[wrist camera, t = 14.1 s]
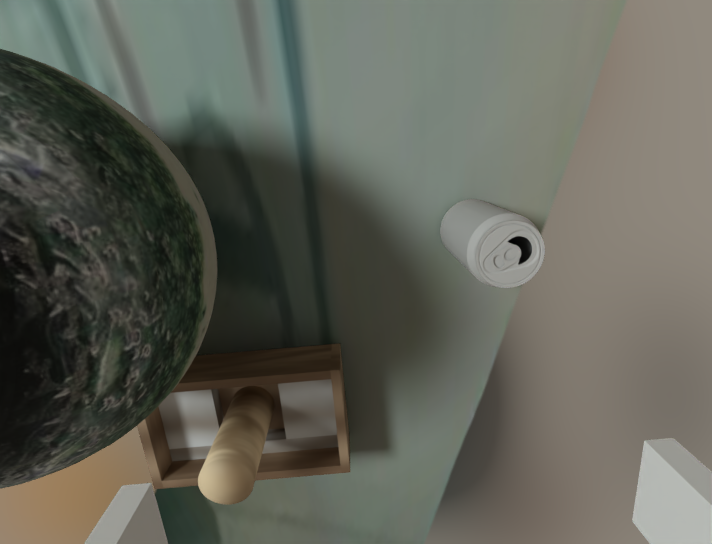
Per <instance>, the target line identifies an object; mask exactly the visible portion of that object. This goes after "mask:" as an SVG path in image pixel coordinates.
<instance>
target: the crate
mask: <svg viewBox="0 0 712 544" xmlns="http://www.w3.org/2000/svg"><path fill="white" fill-rule="evenodd" d="M247 386H258V387H261V388H263V389H265V390H267V391H268V392H269V393H270V394H271V395H272V397H273V399H274V411H273V414H272V418H271V422H270V426H269V429H268V433H267V437H266V441H265V444H264V448H263V452H262V456H261V459H260V463H259V467H258V471H257V474H256V478H255V480H266V479H277V478H289V477H300V476H312V475H324V474H335V473H347V472H350V437H349V426H348V416H347V406H346V396H345V386H344V375H343V365H342V355H341V345H340V343H339V344H327V345H315V346H304V347H292V348H280V349H268V350H256V351H244V352H233V353H221V354H209V355H197V356H195V358H194V360H193V361H192V363H191V365H190V367H189V368H188V370H187V371H186V373H185V375H184V376H183V377H182V379H181V380H180V382H179V383H178V384H177V386H176V387H175V388H174V390H173V391H172V392H171V393H170V394H169V395H168V396H167V397H166V398H165V399H164V401H163V402H162V403H161V404H160V405H159V406H158V407H157V408H156V409H155V410H154V411H153V412H152V413H151V414H150V415H149V416H148V417H146V418H145V419H144V420H143V421H142V422H141V423H139V424H138V425H137V427H138V431H139V434H140V438H141V442H142V445H143V449H144V452H145V456H146V460H147V463H148V467H149V471H150V474H151V478H152V481H153V485H154V488H155V489H162V488H173V487H185V486H196V485H198V476H199V474H200V471H201V469H202V467H203V465H204V462H205V460H206V458H207V455H208V453H209V451H210V449H211V446H212V444H213V442H214V440H215V437H216V435H217V433H218V431H219V428H220V426H221V424H222V422H223V419H224V417H225V415H226V413H227V410H228V408H229V406H230V404H231V401H232V399H233V397H234V395H235V394H236V392H237V391H238V390H240V389H241V388H244V387H247Z"/></svg>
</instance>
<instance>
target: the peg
mask: <svg viewBox="0 0 712 544" xmlns="http://www.w3.org/2000/svg"><path fill="white" fill-rule="evenodd" d="M273 411H274V399H273V397H272V395H271V394H270V393H269V392H268V391H267V390H265V389H263V388H261V387H258V386H247V387H244V388H241V389H240V390H238V391H237V392H236V394H235V395H234V397H233V399H232V401H231V404H230V406H229V408H228V410H227V413H226V415H225V417H224V419H223V422H222V424H221V426H220V428H219V431H218V433H217V435H216V437H215V440H214V442H213V444H212V446H211V449H210V451H209V453H208V455H207V458H206V460H205V462H204V465H203V467H202V469H201V471H200V474H199V476H198V485H199V488H200V490H201V492H202V493H203V494H204V496H206V497H207V498H208V499H210V500H211V501H213V502H216V503H219V504H235V503H239V502H241V501H243V500H244V499H246V498H247V497H248V496H249V495H250V493H251V492H252V489H253V486H254V482H255V478H256V474H257V471H258V467H259V463H260V459H261V456H262V452H263V448H264V444H265V441H266V437H267V433H268V429H269V426H270V422H271V418H272V414H273Z"/></svg>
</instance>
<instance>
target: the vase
mask: <svg viewBox="0 0 712 544" xmlns="http://www.w3.org/2000/svg"><path fill="white" fill-rule="evenodd" d="M216 285H217V253H216V246H215V239H214V234H213V230H212V226H211V221H210V219H209V216H208V213H207V210H206V207H205V205H204V202H203V200H202V198H201V196H200V194H199V191H198V190H197V188H196V186H195V184H194V183H193V181H192V179H191V177H190V176H189V174H188V173H187V171H186V170H185V169H184V167H183V166H182V164H181V163H180V161H179V160H178V159H177V158H176V157H175V155H174V154H173V153H172V152H171V151H170V149H169V148H168V147H167V146H166V145H165V144H164V143H163V142H162V141H161V140H160V139H159V138H158V137H157V136H156V135H155V134H154V132H152V131H151V130H150V129H149V128H148V127H147V126H146V125H145V124H143V123H142V122H141V121H140V120H139V119H138V118H136V117H135V116H134V115H133V114H132V113H130V112H129V111H127V110H126V109H125V108H123V107H122V106H120V105H119V104H118V103H116V102H115V101H114V100H112V99H111V98H109V97H108V96H106V95H105V94H103V93H101V92H100V91H98V90H96V89H95V88H93V87H91V86H90V85H88V84H86V83H84V82H82V81H80V80H78V79H77V78H75V77H73V76H70V75H68V74H66V73H64V72H62V71H60V70H58V69H56V68H54V67H52V66H49V65H46V64H44V63H41V62H38V61H36V60H33V59H30V58H28V57H25V56H22V55H19V54H16V53H13V52H10V51H6V50H2V49H0V488H5V487H10V486H14V485H18V484H22V483H25V482H28V481H32V480H35V479H38V478H40V477H43V476H46V475H48V474H51V473H54V472H56V471H59V470H62V469H64V468H66V467H69V466H71V465H73V464H76V463H78V462H80V461H81V460H83V459H85V458H87V457H88V456H91V455H92V454H94V453H96V452H98V451H99V450H101V449H103V448H105V447H107V446H109V445H110V444H112V443H114V442H115V441H116V440H118V439H119V438H121V437H122V436H124V435H125V434H126V433H128V432H129V431H130V430H132V429H133V428H134V427H135V426H137V425H138V424H139V423H141V422H142V421H143V420H144V419H145V418H146V417H148V416H149V415H150V414H151V413H152V412H153V411H154V410H155V409H156V408H157V407H158V406H159V405H160V404H161V403H162V402H163V401H164V399H165V398H166V397H167V396H168V395H169V394H170V393H171V392H172V391H173V390H174V388H175V387H176V386H177V384H178V383H179V382H180V380H181V379H182V377H183V376H184V375H185V373H186V371H187V370H188V368H189V367H190V365H191V363H192V361H193V360H194V358H195V356H196V354H197V352H198V351H199V348H200V346H201V343H202V341H203V339H204V336H205V334H206V331H207V328H208V325H209V322H210V318H211V315H212V311H213V306H214V300H215V294H216Z"/></svg>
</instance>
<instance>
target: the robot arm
mask: <svg viewBox="0 0 712 544" xmlns="http://www.w3.org/2000/svg"><path fill="white" fill-rule="evenodd" d="M632 521H633V523H634V524H635V525H636V526H637V528H638V529H639V530H640V531H641V533H642V534H643V535H644V537H645V538H646V539H647V541H648V542H649V543H650V544H712V472H711V471H710V470H709V469H708V468H707V467H706V466H704V465H703V464H702V463H701V462H700V461H699V460H698V459H696V458H695V457H694V456H693V455H692V454H691V453H690V452H689V451H687V450H686V449H685V448H684V447H683V446H682V445H680V444H679V443H678V442H677V441H676V440H674V438H667V439H656V440H645V441H644V448H643V454H642V460H641V468H640V474H639V480H638V487H637V493H636V500H635V506H634V513H633V520H632ZM84 544H168V542H167V538H166V534H165V531H164V527H163V524H162V520H161V516H160V513H159V509H158V506H157V502H156V498H155V495H154V491H153V488H152V484H151V483H146V484H134V485H124V486H122V487H121V488H120V490H119V491H118V493H117V494H116V496H115V497H114V499H113V501H112V502H111V503H110V505H109V506H108V508H107V510H106V511H105V513H104V514H103V516H102V517H101V519H100V520H99V522H98V523H97V525H96V526H95V528H94V529H93V531H92V532H91V534H90V535H89V537H88V538H87V540H86V541H85V543H84Z"/></svg>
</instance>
